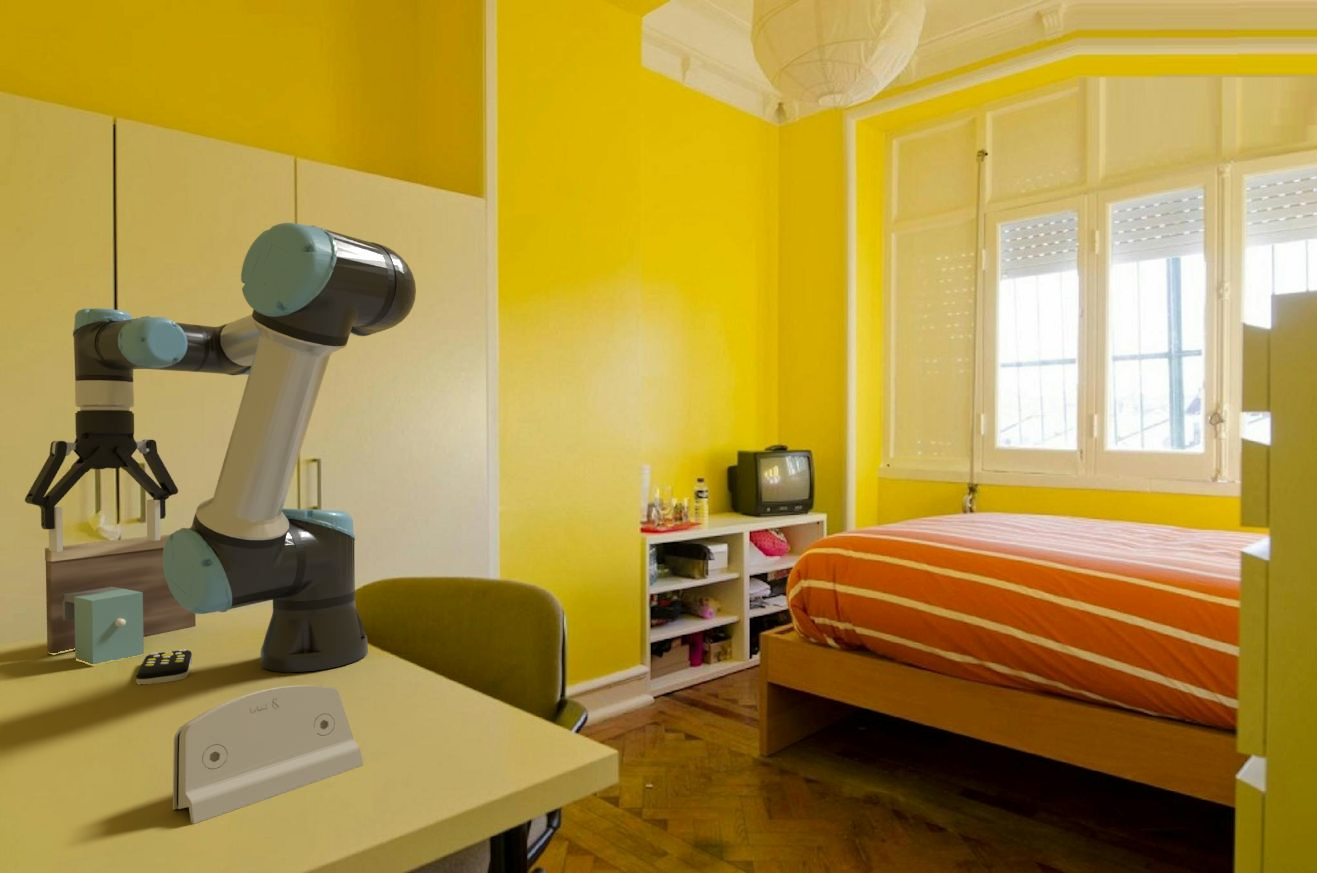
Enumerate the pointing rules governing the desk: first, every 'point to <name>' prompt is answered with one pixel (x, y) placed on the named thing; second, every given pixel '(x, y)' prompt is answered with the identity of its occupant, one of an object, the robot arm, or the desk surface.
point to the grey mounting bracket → (260, 749)
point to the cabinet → (106, 623)
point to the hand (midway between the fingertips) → (107, 545)
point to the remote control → (164, 667)
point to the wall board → (111, 584)
